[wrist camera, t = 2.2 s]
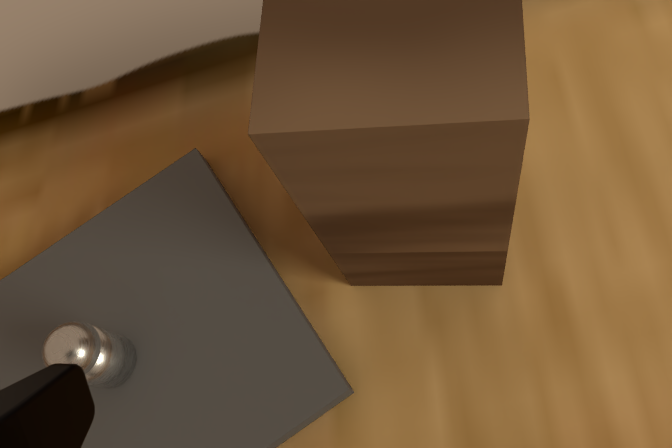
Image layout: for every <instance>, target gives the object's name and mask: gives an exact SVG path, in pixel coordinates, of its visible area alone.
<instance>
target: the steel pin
mask: <svg viewBox="0 0 672 448" xmlns="http://www.w3.org/2000/svg"><path fill="white" fill-rule="evenodd" d="M42 359H43V362H44V365H45V367H48V366H50V365H52V364H56V363H64V364H77V365H79V366H80V367H81V368H82V369H83V371H84V373H85V376H86V379H87V382H88V385H92V386H96V387H101V388H115V387H118V386H120V385H122V384H123V383H125V382H126V381H127V380H128V379H129V378H130V376H131V375H132V373H133V371H134V369H135V366H136V362H137V353H136V349H135V346H134V345H133V343H132V342H131V341H130V340H129V339H128V338H126V337H124V336H121V335H118V334H116V333H113V332H110V331H107V330H105V329H102V328H99V327H96V326H94V325H91V324H88V323H85V322H81V321H71V322H66V323H63V324H61V325H59V326H57V327H56V328H55V329H53V330H52V331H51V332H50V333H49V334H48V336H47V337H46V339H45V341H44V343H43V347H42Z"/></svg>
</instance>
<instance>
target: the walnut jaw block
mask: <svg viewBox="0 0 672 448" xmlns="http://www.w3.org/2000/svg"><path fill="white" fill-rule="evenodd" d="M528 125H529V103H528V88H527V72H526V57H525V41H524V26H523V10H522V0H263V7H262V15H261V25H260V33H259V42H258V50H257V59H256V68H255V77H254V85H253V94H252V103H251V112H250V120H249V129H248V135H249V137H250V138H251V140H252V141H253V142H254V144H255V145H256V147H257V148H258V150H259V151H260V153H261V154H262V156H263V157H264V159H265V160H266V162H267V163H268V165H269V166H270V167H271V169H272V170H273V172H274V173H275V175H276V176H277V178H278V179H279V181H280V182H281V184H282V185H283V187H284V188H285V189H286V191H287V192H288V194H289V195H290V197H291V198H292V200H293V201H294V203H295V204H296V206H297V207H298V209H299V210H300V211H301V213H302V214H303V216H304V217H305V219H306V220H307V222H308V223H309V225H310V226H311V228H312V229H313V231H314V232H315V234H316V235H317V236H318V238H319V239H320V241H321V242H322V244H323V245H324V247H325V248H326V250H327V251H328V253H329V254H330V256H331V257H332V258H333V260H334V261H335V263H336V264H337V266H338V267H339V269H340V270H341V272H342V273H343V275H344V276H345V278H346V279H347V280H348V282H349V283H350V285H351V286H404V285H502V281H503V275H504V269H505V263H506V257H507V251H508V245H509V239H510V233H511V227H512V221H513V215H514V209H515V203H516V197H517V191H518V185H519V179H520V173H521V167H522V161H523V155H524V149H525V143H526V137H527V131H528Z"/></svg>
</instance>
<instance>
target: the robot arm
mask: <svg viewBox="0 0 672 448" xmlns="http://www.w3.org/2000/svg"><path fill="white" fill-rule="evenodd" d="M94 415H95V405H94V401H93V398H92V395H91V392H90V389H89V385H88V382H87V379H86V376H85V373H84V371H83V369H82V368H81V367H80V366H79V365H77V364H64V363H56V364H52V365H50V366H48V367H46V368H44V369H42V370H40V371H38V372H36V373H34V374H32V375H30V376H28V377H26V378H24V379H22V380H20V381H18V382H16V383H14V384H12V385H10V386H8V387H6V388H4V389H2V390H0V448H81V447H82V445H83V442H84V440H85V438H86V436H87V433H88V431H89V429H90V427H91V424H92V422H93V419H94Z"/></svg>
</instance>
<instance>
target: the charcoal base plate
mask: <svg viewBox="0 0 672 448" xmlns="http://www.w3.org/2000/svg"><path fill="white" fill-rule="evenodd" d="M71 321H81V322H85V323H88V324H91V325H94V326H96V327H99V328H102V329H105V330H107V331H110V332H113V333H116V334H118V335H121V336H124V337H126V338H128V339H129V340H130V341H131V342H132V343H133V345H134V346H135V349H136V353H137V362H136V366H135V369H134V371H133V373H132V375H131V376H130V378H129V379H128V380H127V381H126V382H125V383H123V384H122V385H120V386H118V387H115V388H101V387H96V386H92V385H89V389H90V392H91V395H92V398H93V401H94V405H95V415H94V419H93V422H92V424H91V427H90V429H89V431H88V433H87V436H86V438H85V440H84V442H83V445H82V447H81V448H276V447H277V446H279V445H280V444H282V443H283V442H284V441H286V440H287V439H289V438H290V437H292V436H293V435H294V434H296V433H297V432H299V431H300V430H302V429H303V428H304V427H306V426H307V425H309V424H310V423H311V422H313V421H314V420H316V419H317V418H319V417H320V416H321V415H323V414H324V413H326V412H327V411H328V410H330V409H331V408H333V407H334V406H336V405H337V404H338V403H340V402H341V401H343V400H344V399H345V398H347V397H348V396H350V395H351V394H353V393H354V391H353V389H352V388H351V386H350V385H349V383H348V382H347V380H346V379H345V377H344V375H343V374H342V372H341V371H340V369H339V368H338V366H337V364H336V363H335V361H334V360H333V358H332V357H331V355H330V353H329V352H328V350H327V349H326V347H325V346H324V344H323V343H322V341H321V339H320V338H319V336H318V335H317V333H316V332H315V330H314V328H313V327H312V325H311V324H310V322H309V321H308V319H307V317H306V316H305V314H304V313H303V311H302V310H301V308H300V307H299V305H298V303H297V302H296V300H295V299H294V297H293V296H292V294H291V292H290V291H289V289H288V288H287V286H286V285H285V283H284V282H283V280H282V278H281V277H280V275H279V274H278V272H277V271H276V269H275V267H274V266H273V264H272V263H271V261H270V260H269V258H268V256H267V255H266V253H265V252H264V250H263V249H262V247H261V246H260V244H259V242H258V241H257V239H256V238H255V236H254V235H253V233H252V231H251V230H250V228H249V227H248V225H247V224H246V222H245V220H244V219H243V217H242V216H241V214H240V213H239V211H238V210H237V208H236V206H235V205H234V203H233V202H232V200H231V199H230V197H229V195H228V194H227V192H226V191H225V189H224V188H223V186H222V184H221V183H220V181H219V180H218V178H217V177H216V175H215V174H214V172H213V170H212V169H211V167H210V166H209V164H208V163H207V161H206V159H205V158H204V157H203V156H202V155H201V154H200V152H199V151H198V150H197V149H196V148H195V149H193V150H192V151H191V152H189V153H188V154H186V155H185V156H183V157H182V158H180V159H179V160H177V161H176V162H174V163H173V164H171V165H170V166H168V167H167V168H165V169H164V170H162V171H161V172H160V173H158V174H157V175H155V176H154V177H152V178H151V179H149V180H148V181H146V182H145V183H143V184H142V185H140V186H139V187H137V188H136V189H134V190H133V191H132V192H130V193H129V194H127V195H126V196H124V197H123V198H121V199H120V200H118V201H117V202H115V203H114V204H112V205H111V206H109V207H108V208H106V209H105V210H104V211H102V212H101V213H99V214H98V215H96V216H95V217H93V218H92V219H90V220H89V221H87V222H86V223H84V224H83V225H81V226H80V227H78V228H77V229H76V230H74V231H73V232H71V233H70V234H68V235H67V236H65V237H64V238H62V239H61V240H59V241H58V242H56V243H55V244H53V245H52V246H50V247H49V248H47V249H46V250H45V251H43V252H42V253H40V254H39V255H37V256H36V257H34V258H33V259H31V260H30V261H28V262H27V263H25V264H24V265H22V266H21V267H19V268H18V269H17V270H15V271H14V272H12V273H11V274H9V275H8V276H6V277H5V278H3V279H2V280H0V390H2V389H4V388H6V387H8V386H10V385H12V384H14V383H16V382H18V381H20V380H22V379H24V378H26V377H28V376H30V375H32V374H34V373H36V372H38V371H40V370H42V369H44V368H46V367H45V365H44V362H43V359H42V347H43V343H44V341H45V339H46V337H47V336H48V334H49V333H50V332H51V331H52V330H53V329H55V328H56V327H57V326H59V325H61V324H63V323H66V322H71Z"/></svg>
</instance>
